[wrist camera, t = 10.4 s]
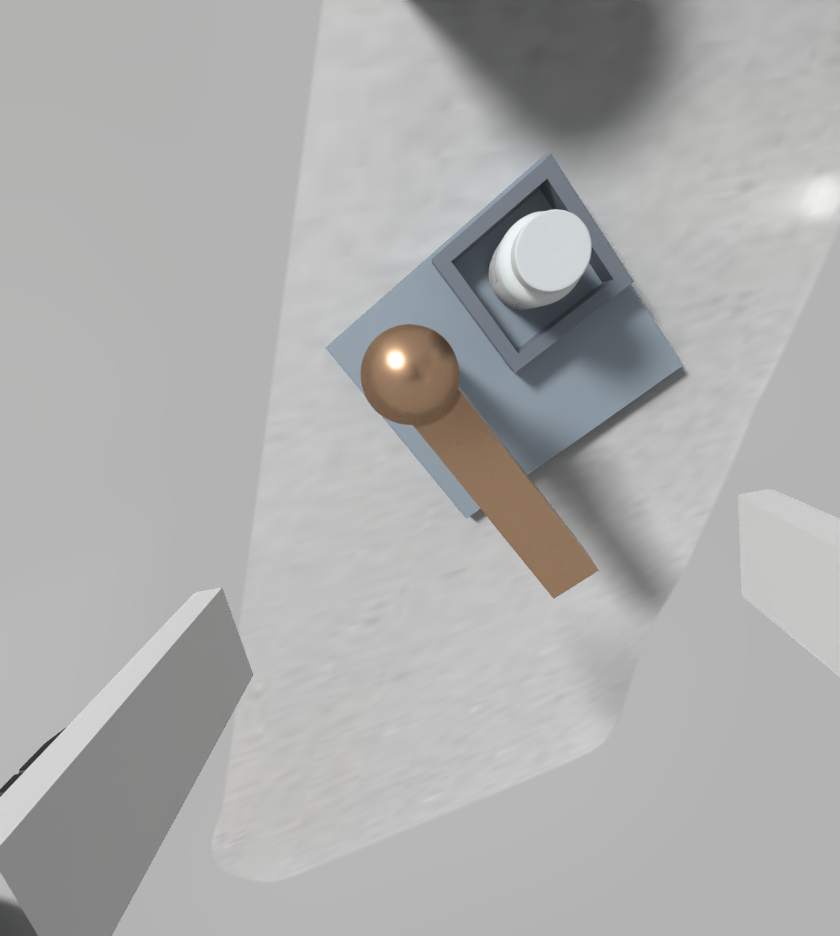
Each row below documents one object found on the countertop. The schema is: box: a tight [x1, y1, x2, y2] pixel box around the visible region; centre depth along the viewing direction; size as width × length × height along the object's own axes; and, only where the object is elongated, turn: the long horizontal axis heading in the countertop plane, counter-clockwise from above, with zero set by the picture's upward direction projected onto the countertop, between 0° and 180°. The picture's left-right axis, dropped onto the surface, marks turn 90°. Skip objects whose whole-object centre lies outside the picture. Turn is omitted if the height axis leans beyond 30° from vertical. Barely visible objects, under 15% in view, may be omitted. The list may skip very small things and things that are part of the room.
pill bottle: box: [489, 209, 592, 310], centre depth 25 cm, size 4×4×8 cm
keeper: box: [361, 324, 599, 598], centre depth 21 cm, size 14×4×2 cm, turn 39°
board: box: [326, 154, 683, 519], centre depth 26 cm, size 17×15×10 cm
